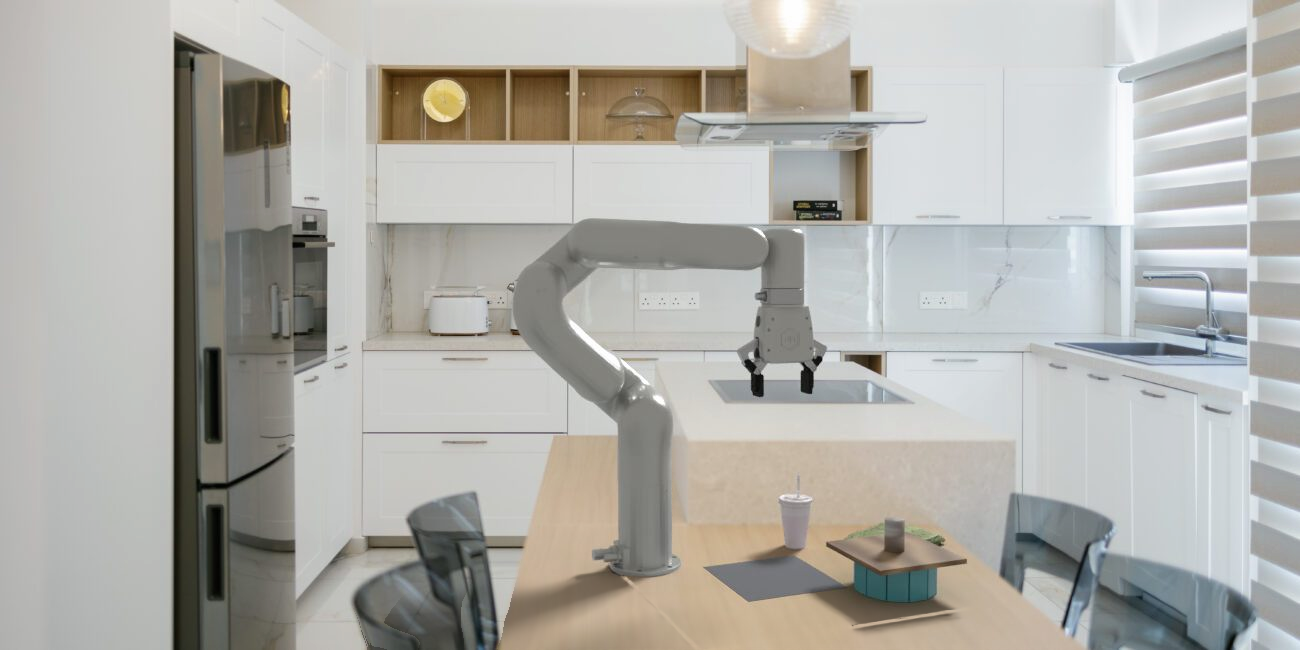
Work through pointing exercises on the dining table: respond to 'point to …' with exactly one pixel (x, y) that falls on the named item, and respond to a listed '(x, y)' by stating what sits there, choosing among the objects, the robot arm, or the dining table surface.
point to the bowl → (896, 584)
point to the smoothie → (795, 517)
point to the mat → (773, 578)
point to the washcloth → (914, 530)
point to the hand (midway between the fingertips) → (782, 394)
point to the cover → (895, 551)
